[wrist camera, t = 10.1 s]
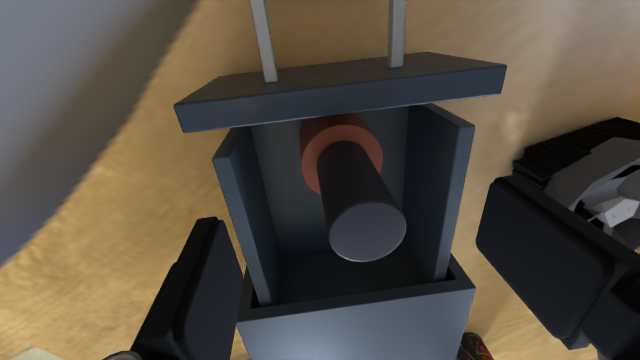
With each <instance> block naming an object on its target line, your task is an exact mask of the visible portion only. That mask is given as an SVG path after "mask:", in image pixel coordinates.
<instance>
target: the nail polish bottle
mask: <svg viewBox="0 0 640 360" xmlns="http://www.w3.org/2000/svg"><path fill="white" fill-rule="evenodd" d="M299 141H300V157H301V171H302V175H303V177H304V180H305V181H306V183H307V184H308V186H309V187H310V188H311V189H312V190H313V191H315V192H316V193H318V194H319V195H321V198H322V204H323V210H324V216H325V222H326V228H327V234H328V239H329V243H330V245H331V247H332V249H333V250H334V251H335V252H336V253H337V254H338V255H340V256H341V257H343V258H345V259H348V260H351V261H358V262H365V261H372V260H376V259H379V258H381V257H383V256H385V255H387V254H389V253H390V252H392V251H393V250H394V249H395V248H396V247H397V246H398V245H399V244H400V243H401V241H402V240H403V237H404V235H405V232H406V219H405V216H404V214H403V213H402V211H401V209H400V207H399V206H398V204H397V203H396V201H395V199H394V198H393V196H392V194H391V193H390V191H389V189H388V188H387V186H386V184H385V183H384V181H383V179H382V178H381V176H380V172H381V169H382V165H383V153H382V149H381V146H380V144H379V142H378V140H377V139H376V138H375V136H374V135H373V134H372V132H371V131H370V130H369V128H368V127H367V126H366V125H365V123H364V122H363V121H362V119H361V118H360V117H359V115H358V114H357V113H356V112H354V113H346V114H338V115H330V116H322V117H314V118H306V119H304V120H303V122H302V124H301V127H300V132H299Z"/></svg>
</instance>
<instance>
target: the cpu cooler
mask: <svg viewBox="0 0 640 360" xmlns="http://www.w3.org/2000/svg"><path fill="white" fill-rule="evenodd" d="M528 160H529V161H528ZM513 165H514V166H513V168H514V169H513V173H512V175H516V176H519V177H520V178H522V179H523V180H525V181H526V182H528V183H530V184H531V185H533V186H534V187H536V188H537V189H539V190H540V191H542V192H544V193H545V194H547V195H548V196H550V197H551V198H553V199H554V200H556V201H557V202H559V203H561V204H562V205H564V206H565V207H567V208H568V209H570V210H571V211H573V212H574V213H576V214H578V215H579V216H581V217H582V218H584V219H585V220H587V221H588V222H590V223H591V224H593V225H595V226H596V227H598V228H599V229H601V230H602V231H604V232H605V233H607V234H608V235H610V236H612V237H613V238H615V239H616V240H618V241H619V242H621V243H622V244H624V245H625V246H627V247H629V248H630V249H632V250H633V251H634V250H636V249H637V248H639V247H640V123H638V122H635V121H631V120H627V119H623V118H619V117H616V118H612V119H611V120H606V121H605V122H604V121H603V122H601V123H597V124H595V125H591V126H590V127H585V128H583V129H579V130H577V131H573V132H571V133H568V134H566V135H565V134H564V136H563V135H562V136H560V137H556V138H554V139H553V138H552V139H550V140H547V141H545V142H543V143H542V142H541V143H539V144H538V145H537V144H536V145H532V146H530V147H529V148H527V149H526V148H525V152H524V158H522V159H518V160H515V161H513Z"/></svg>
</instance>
